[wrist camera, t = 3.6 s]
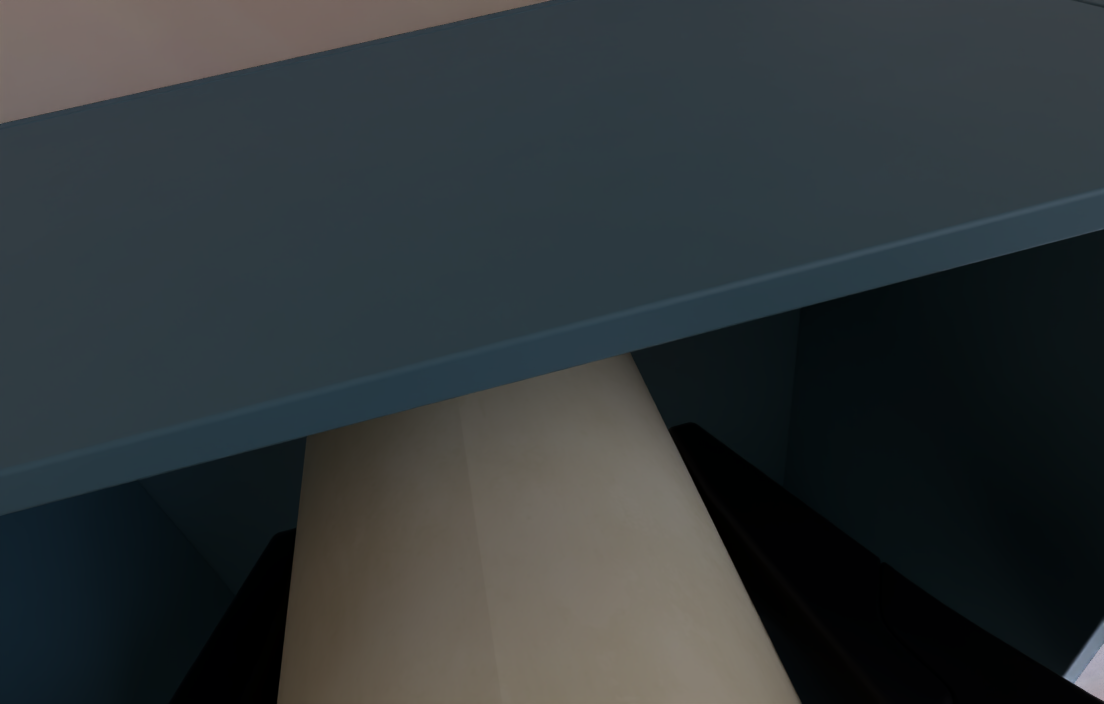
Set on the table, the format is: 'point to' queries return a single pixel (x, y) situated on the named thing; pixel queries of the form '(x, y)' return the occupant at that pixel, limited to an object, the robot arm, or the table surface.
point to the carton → (564, 294)
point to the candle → (518, 558)
